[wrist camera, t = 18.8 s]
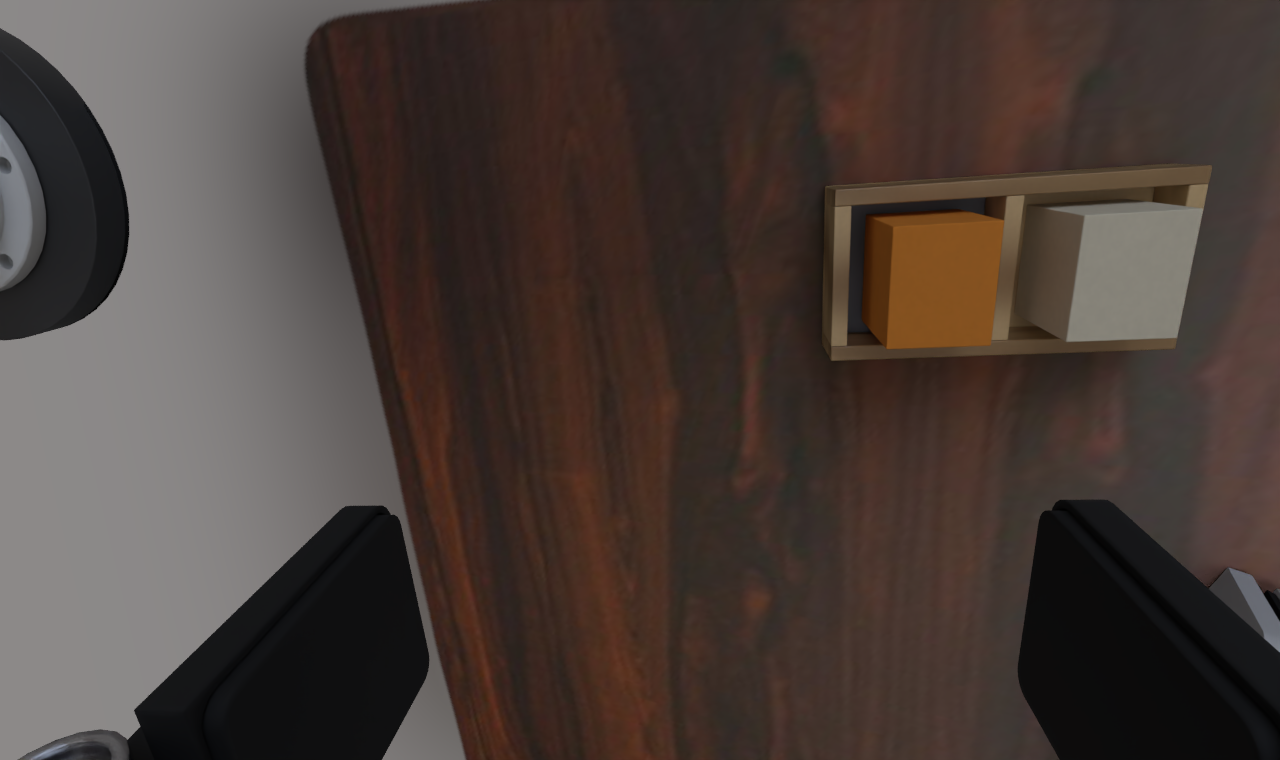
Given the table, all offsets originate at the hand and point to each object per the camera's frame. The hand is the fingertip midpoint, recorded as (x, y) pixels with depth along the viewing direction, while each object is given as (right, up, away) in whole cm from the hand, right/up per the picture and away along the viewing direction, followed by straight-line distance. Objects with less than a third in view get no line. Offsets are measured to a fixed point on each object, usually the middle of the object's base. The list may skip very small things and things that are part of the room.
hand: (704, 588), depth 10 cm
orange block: (+13, +9, +25) cm, 29 cm away
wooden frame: (+17, +9, +25) cm, 32 cm away
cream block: (+21, +9, +24) cm, 33 cm away
